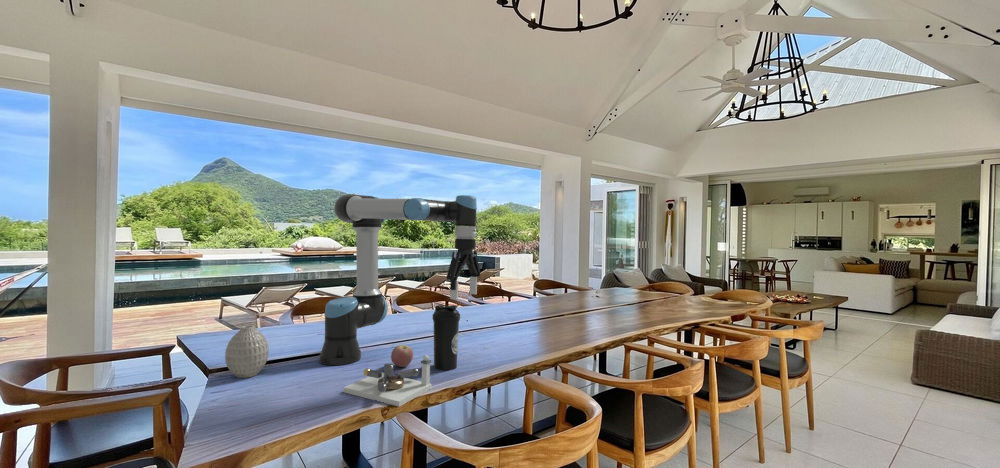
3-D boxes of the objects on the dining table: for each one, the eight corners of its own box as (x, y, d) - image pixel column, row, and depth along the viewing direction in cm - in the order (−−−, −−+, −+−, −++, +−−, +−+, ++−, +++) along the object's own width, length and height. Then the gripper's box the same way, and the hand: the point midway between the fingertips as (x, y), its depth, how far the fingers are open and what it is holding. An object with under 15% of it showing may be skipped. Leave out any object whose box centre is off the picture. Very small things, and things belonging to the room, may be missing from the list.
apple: (393, 371, 151) (393, 349, 151) (388, 365, 158) (389, 343, 158) (415, 368, 155) (415, 346, 154) (409, 362, 161) (409, 341, 161)
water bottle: (454, 372, 151) (455, 308, 151) (427, 369, 153) (428, 307, 153) (462, 363, 161) (463, 304, 161) (437, 361, 163) (438, 302, 163)
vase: (276, 371, 148) (277, 324, 148) (244, 383, 136) (244, 332, 136) (249, 366, 152) (250, 321, 152) (215, 378, 140) (216, 328, 140)
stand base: (343, 392, 131) (344, 357, 131) (379, 376, 145) (379, 345, 145) (399, 406, 121) (399, 369, 121) (431, 388, 136) (432, 354, 135)
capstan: (343, 388, 130) (343, 367, 130) (383, 371, 146) (383, 352, 146) (382, 398, 123) (383, 376, 123) (420, 379, 139) (420, 360, 139)
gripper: (456, 238, 139) (454, 302, 140) (490, 238, 162) (488, 292, 162) (437, 238, 143) (435, 300, 143) (473, 237, 165) (471, 291, 165)
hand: (463, 296), depth 152 cm, fingers open, 13 cm apart
